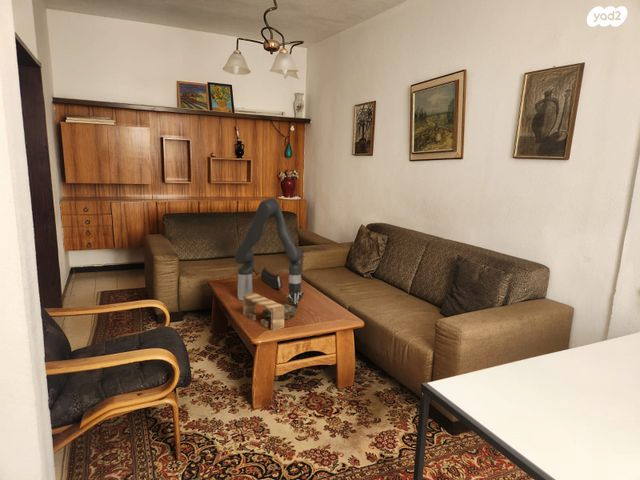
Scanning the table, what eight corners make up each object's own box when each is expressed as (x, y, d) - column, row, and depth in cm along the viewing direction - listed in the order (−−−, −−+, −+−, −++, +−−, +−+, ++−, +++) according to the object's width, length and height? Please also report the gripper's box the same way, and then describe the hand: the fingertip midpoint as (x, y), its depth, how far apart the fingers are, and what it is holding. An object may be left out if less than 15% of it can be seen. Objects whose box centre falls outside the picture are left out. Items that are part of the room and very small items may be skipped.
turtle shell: (256, 305, 239) (288, 295, 246) (259, 319, 241) (291, 308, 248) (264, 314, 225) (298, 303, 232) (267, 329, 227) (300, 317, 234)
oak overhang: (243, 315, 238) (242, 295, 236) (253, 312, 243) (253, 292, 241) (273, 330, 217) (273, 309, 215) (284, 327, 222) (284, 306, 220)
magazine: (259, 268, 308) (275, 265, 282) (263, 267, 310) (279, 265, 284) (262, 290, 307) (278, 290, 281) (266, 290, 308) (282, 289, 283)
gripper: (299, 277, 249) (298, 304, 253) (282, 282, 240) (282, 309, 244) (307, 280, 244) (307, 308, 248) (290, 284, 235) (290, 313, 238)
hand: (294, 308), depth 246 cm, fingers closed
